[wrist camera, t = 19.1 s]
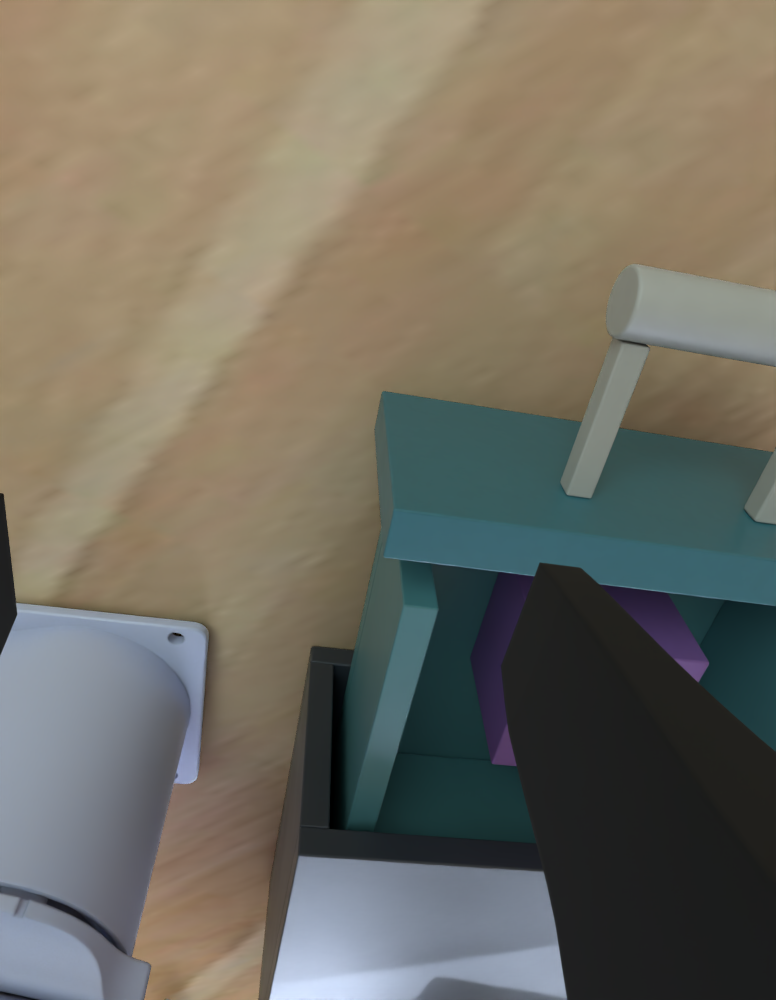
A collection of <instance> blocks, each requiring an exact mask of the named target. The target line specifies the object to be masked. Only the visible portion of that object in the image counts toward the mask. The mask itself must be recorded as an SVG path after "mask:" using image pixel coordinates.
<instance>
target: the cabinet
mask: <svg viewBox="0 0 776 1000" xmlns="http://www.w3.org/2000/svg"><path fill="white" fill-rule="evenodd" d="M353 654H354V650H346V649H337V648H327V647H318V646H312V648H311V651H310V657H309V663H308V668H307V674H306V680H305V686H304V691H303V697H302V703H301V708H300V714H299V720H298V725H297V731H296V737H295V742H294V748H293V754H292V759H291V765H290V771H289V776H288V782H287V788H286V794H285V799H284V805H283V811H282V816H281V822H280V828H279V833H278V839H277V845H276V850H275V856H274V862H273V867H272V873H271V879H270V886H269V896H268V897H269V898H268V906H267V916H266V926H265V937H264V947H263V957H262V968H261V978H260V988H259V998H258V1000H567V996H566V990H565V983H564V977H563V970H562V964H561V957H560V951H559V945H558V938H557V932H556V925H555V920H554V915H553V911H552V906H551V901H550V897H549V892H548V887H547V883H546V879H545V875H544V871H543V867H542V864H541V860H540V856H539V852H538V848H537V844H536V843H524V842H510V841H495V840H481V839H467V838H452V837H438V836H423V835H409V834H395V833H380V832H366V831H352V830H337V829H332V802H333V761H334V740H335V736H336V731H337V727H338V722H339V718H340V713H341V709H342V704H343V699H344V695H345V690H346V686H347V681H348V677H349V672H350V668H351V663H352V658H353Z"/></svg>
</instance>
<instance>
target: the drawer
mask: <svg viewBox="0 0 776 1000" xmlns="http://www.w3.org/2000/svg"><path fill="white" fill-rule="evenodd" d="M606 326H607V331H608V333H609V335H610V336H612V337H613V338H612V341H611V344H610V346H609V349H608V352H607V355H606V357H605V360H604V363H603V366H602V368H601V371H600V374H599V377H598V379H597V382H596V385H595V388H594V390H593V393H592V396H591V399H590V401H589V404H588V407H587V410H586V412H585V415H584V418H583V421H582V422H577V421H571V420H565V419H558V418H552V417H545V416H539V415H533V414H526V413H520V412H513V411H507V410H501V409H494V408H488V407H482V406H475V405H469V404H462V403H456V402H450V401H443V400H437V399H430V398H424V397H418V396H411V395H405V394H399V393H392V392H386V391H383V392H382V394H381V399H380V404H379V410H378V415H377V420H376V425H375V444H376V459H377V473H378V488H379V503H380V517H381V531H380V535H379V540H378V544H377V549H376V553H375V558H374V563H373V567H372V572H371V576H370V581H369V585H368V590H367V595H366V599H365V604H364V608H363V613H362V617H361V622H360V626H359V631H358V636H357V640H356V645H355V649H354V654H353V658H352V663H351V668H350V672H349V677H348V681H347V686H346V690H345V695H344V699H343V704H342V709H341V713H340V718H339V722H338V727H337V731H336V736H335V740H334V761H333V802H332V829H337V830H352V831H366V832H380V833H395V834H409V835H423V836H438V837H452V838H467V839H481V840H495V841H510V842H524V843H536V840H535V836H534V832H533V828H532V824H531V821H530V817H529V813H528V809H527V805H526V801H525V797H524V793H523V789H522V785H521V781H520V777H519V773H518V769H517V766H508V765H496V764H492V763H491V759H490V754H489V749H488V744H487V739H486V734H485V729H484V724H483V719H482V714H481V709H480V705H479V700H478V695H477V690H476V685H475V680H474V675H473V670H472V665H471V660H470V656H471V653H472V650H473V648H474V645H475V642H476V639H477V636H478V633H479V630H480V627H481V624H482V621H483V618H484V615H485V612H486V609H487V606H488V603H489V600H490V597H491V594H492V591H493V588H494V585H495V582H496V579H497V576H498V573H499V572H505V573H513V574H521V575H529V576H535V574H536V571H537V568H538V566H539V563H540V562H541V563H549V564H556V565H564V566H572V567H580V568H582V569H583V570H584V571H585V572H586V573H587V574H588V575H590V576H591V577H592V578H593V579H594V580H595V581H596V582H597V583H598V584H601V585H609V586H618V587H626V588H634V589H642V590H650V591H658V592H666V593H668V595H669V596H670V598H671V600H672V601H673V603H674V605H675V606H676V608H677V610H678V611H679V613H680V615H681V616H682V618H683V620H684V621H685V623H686V625H687V626H688V628H689V630H690V631H691V633H692V635H693V636H694V638H695V640H696V641H697V643H698V645H699V646H700V648H701V650H702V651H703V653H704V655H705V656H706V658H707V660H708V661H709V665H708V667H707V669H706V670H705V672H704V674H703V675H702V677H701V679H700V681H699V682H698V683H699V684H700V685H701V686H702V687H704V688H705V689H706V690H707V691H708V692H709V693H710V694H711V695H712V696H713V697H714V698H715V699H716V700H717V701H719V702H720V703H721V704H722V705H723V706H724V707H725V708H726V709H728V710H729V711H730V712H731V713H732V714H733V715H734V716H735V717H737V718H738V719H739V720H740V721H741V722H742V723H743V724H744V725H746V726H747V727H748V728H749V729H750V730H751V731H752V732H753V733H754V734H756V735H757V736H758V737H759V738H760V739H761V740H763V741H764V742H765V743H766V744H767V745H768V746H770V747H771V748H772V749H773V750H774V751H776V448H775V450H774V452H769V451H762V450H756V449H750V448H743V447H737V446H731V445H724V444H718V443H711V442H705V441H699V440H692V439H686V438H679V437H673V436H667V435H660V434H654V433H648V432H641V431H635V430H628V429H622V428H619V427H620V425H621V422H622V419H623V417H624V414H625V412H626V409H627V407H628V404H629V402H630V399H631V397H632V394H633V392H634V389H635V387H636V384H637V382H638V379H639V376H640V374H641V371H642V369H643V366H644V364H645V361H646V359H647V356H648V354H649V351H650V348H649V347H648V346H647V345H653V346H659V347H665V348H670V349H676V350H682V351H687V352H693V353H699V354H705V355H710V356H716V357H722V358H727V359H733V360H739V361H745V362H750V363H756V364H762V365H767V366H773V367H776V290H770V289H765V288H760V287H755V286H750V285H744V284H739V283H734V282H729V281H723V280H718V279H713V278H708V277H702V276H697V275H692V274H687V273H682V272H676V271H671V270H666V269H661V268H655V267H650V266H645V265H640V264H632V265H629V266H627V267H626V268H624V269H623V270H622V272H621V273H620V274H619V276H618V278H617V279H616V281H615V283H614V286H613V288H612V291H611V294H610V297H609V300H608V305H607V312H606ZM646 344H647V345H646Z"/></svg>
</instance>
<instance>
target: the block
mask: <svg viewBox="0 0 776 1000" xmlns="http://www.w3.org/2000/svg"><path fill="white" fill-rule="evenodd" d="M533 579H534V576H529V575H521V574H513V573H505V572H499V573H498V576H497V579H496V582H495V585H494V588H493V591H492V594H491V597H490V600H489V603H488V606H487V609H486V612H485V615H484V618H483V621H482V624H481V627H480V630H479V633H478V636H477V639H476V642H475V645H474V648H473V650H472V653H471V656H470V660H471V665H472V670H473V675H474V680H475V685H476V690H477V695H478V700H479V705H480V709H481V714H482V719H483V724H484V729H485V734H486V739H487V744H488V749H489V754H490V759H491V763H492V764H496V765H508V766H517V765H516V761H515V757H514V753H513V749H512V745H511V740H510V736H509V732H508V725H507V717H506V710H505V702H504V692H503V682H502V672H501V664H502V662H503V659H504V656H505V654H506V651H507V648H508V646H509V643H510V640H511V638H512V635H513V632H514V630H515V627H516V624H517V622H518V619H519V616H520V614H521V611H522V608H523V606H524V603H525V600H526V598H527V595H528V592H529V590H530V587H531V584H532V582H533ZM599 585H600V586H601V587H602V588H603V589H604V590H605V591H606V592H607V593H608V594H609V595H610V596H611V597H612V598H613V599H614V600H615V601H616V602H617V603H618V604H619V605H620V606H621V607H622V608H623V609H624V610H625V611H626V612H627V613H628V614H629V615H630V616H631V617H632V618H633V619H634V620H635V621H636V622H637V623H638V624H639V625H640V626H641V627H642V628H643V629H644V630H645V631H646V632H647V633H648V634H649V635H650V636H651V637H652V638H653V639H654V640H655V641H656V642H657V643H658V644H659V645H660V646H661V647H662V648H663V649H664V650H665V651H666V652H667V653H668V654H669V655H670V656H671V657H672V658H673V659H674V660H675V661H676V662H677V663H678V664H679V665H680V666H682V667H683V668H684V669H685V670H686V671H687V672H688V673H689V674H690V675H691V676H692V677H693V678H694V679H695V680H696V681H697V682H699V681H700V679H701V677H702V675H703V674H704V672H705V670H706V669H707V667H708V665H709V661H708V660H707V658H706V656H705V655H704V653H703V651H702V650H701V648H700V646H699V645H698V643H697V641H696V640H695V638H694V636H693V635H692V633H691V631H690V630H689V628H688V626H687V625H686V623H685V621H684V620H683V618H682V616H681V615H680V613H679V611H678V610H677V608H676V606H675V605H674V603H673V601H672V600H671V598H670V596H669V595H668V593H666V592H658V591H650V590H642V589H634V588H626V587H618V586H609V585H601V584H599Z"/></svg>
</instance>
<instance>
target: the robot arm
mask: <svg viewBox="0 0 776 1000" xmlns="http://www.w3.org/2000/svg"><path fill="white" fill-rule="evenodd" d="M172 633H179V634H181V635H182V636H175V635H173V634H172ZM208 641H209V632H208V630H207V628H206V627H205V626H204V625H202V624H200V623H197V622H191V621H182V620H172V619H163V618H154V617H144V616H135V615H126V614H116V613H107V612H98V611H88V610H79V609H70V608H61V607H51V606H42V605H33V604H23V603H16V598H15V589H14V580H13V572H12V563H11V554H10V546H9V537H8V528H7V520H6V511H5V502H4V494H3V493H0V1000H144V998H145V993H146V988H147V984H148V979H149V975H150V970H151V965H150V964H149V963H148V962H144V961H141V960H138V959H135V958H133V957H132V954H133V949H134V945H135V941H136V937H137V933H138V929H139V925H140V921H141V917H142V912H143V908H144V904H145V900H146V896H147V892H148V888H149V884H150V880H151V876H152V871H153V867H154V863H155V859H156V855H157V851H158V847H159V843H160V839H161V834H162V830H163V826H164V822H165V818H166V814H167V810H168V806H169V802H170V797H171V793H172V789H173V785H174V783H179V784H189V783H192V782H194V781H195V780H196V779H197V777H198V772H199V764H200V750H201V736H202V723H203V709H204V696H205V682H206V669H207V655H208ZM501 672H502V682H503V692H504V702H505V710H506V717H507V725H508V732H509V736H510V740H511V745H512V749H513V753H514V757H515V761H516V765H517V769H518V773H519V777H520V781H521V785H522V789H523V793H524V797H525V801H526V805H527V809H528V813H529V817H530V821H531V824H532V828H533V832H534V836H535V840H536V844H537V848H538V852H539V856H540V860H541V864H542V867H543V871H544V875H545V879H546V883H547V887H548V892H549V897H550V901H551V906H552V911H553V915H554V920H555V925H556V932H557V938H558V945H559V951H560V957H561V964H562V970H563V977H564V983H565V990H566V996H567V1000H776V751H774V750H773V749H772V748H771V747H770V746H768V745H767V744H766V743H765V742H764V741H763V740H761V739H760V738H759V737H758V736H757V735H756V734H754V733H753V732H752V731H751V730H750V729H749V728H748V727H747V726H746V725H744V724H743V723H742V722H741V721H740V720H739V719H738V718H737V717H735V716H734V715H733V714H732V713H731V712H730V711H729V710H728V709H726V708H725V707H724V706H723V705H722V704H721V703H720V702H719V701H717V700H716V699H715V698H714V697H713V696H712V695H711V694H710V693H709V692H708V691H707V690H706V689H705V688H704V687H702V686H701V685H700V684H699V683H698V682H697V681H696V680H695V679H694V678H693V677H692V676H691V675H690V674H689V673H688V672H687V671H686V670H685V669H684V668H683V667H682V666H680V665H679V664H678V663H677V662H676V661H675V660H674V659H673V658H672V657H671V656H670V655H669V654H668V653H667V652H666V651H665V650H664V649H663V648H662V647H661V646H660V645H659V644H658V643H657V642H656V641H655V640H654V639H653V638H652V637H651V636H650V635H649V634H648V633H647V632H646V631H645V630H644V629H643V628H642V627H641V626H640V625H639V624H638V623H637V622H636V621H635V620H634V619H633V618H632V617H631V616H630V615H629V614H628V613H627V612H626V611H625V610H624V609H623V608H622V607H621V606H620V605H619V604H618V603H617V602H616V601H615V600H614V599H613V598H612V597H611V596H610V595H609V594H608V593H607V592H606V591H605V590H604V589H603V588H602V587H601V586H600V585H599V584H598V583H597V582H596V581H595V580H594V579H593V578H592V577H591V576H590V575H588V574H587V573H586V572H585V571H584V570H583V569H582V568H580V567H572V566H564V565H556V564H549V563H541V562H540V563H539V566H538V568H537V571H536V574H535V576H534V579H533V582H532V584H531V587H530V590H529V592H528V595H527V598H526V600H525V603H524V606H523V608H522V611H521V614H520V616H519V619H518V622H517V624H516V627H515V630H514V632H513V635H512V638H511V640H510V643H509V646H508V648H507V651H506V654H505V656H504V659H503V662H502V664H501Z"/></svg>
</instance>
